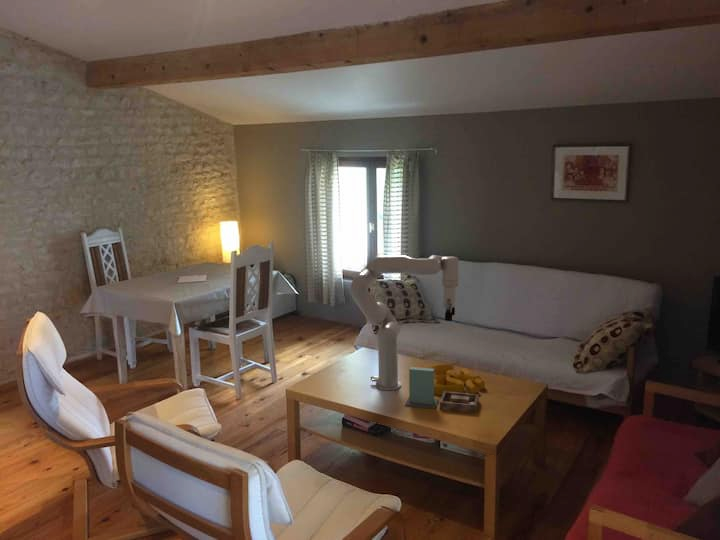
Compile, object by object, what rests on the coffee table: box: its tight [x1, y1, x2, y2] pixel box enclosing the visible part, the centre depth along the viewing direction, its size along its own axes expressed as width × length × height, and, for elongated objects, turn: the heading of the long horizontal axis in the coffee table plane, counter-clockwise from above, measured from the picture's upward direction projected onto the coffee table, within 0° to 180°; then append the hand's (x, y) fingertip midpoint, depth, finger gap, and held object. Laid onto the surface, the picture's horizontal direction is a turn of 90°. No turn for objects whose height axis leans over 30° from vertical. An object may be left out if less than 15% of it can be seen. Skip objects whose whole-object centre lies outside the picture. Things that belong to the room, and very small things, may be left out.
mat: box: [404, 397, 440, 410], centre depth 282 cm, size 14×10×1 cm
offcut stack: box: [449, 395, 474, 404], centre depth 276 cm, size 11×4×5 cm, turn 74°
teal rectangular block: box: [408, 366, 435, 404], centre depth 281 cm, size 11×3×16 cm, turn 74°
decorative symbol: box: [429, 364, 486, 396], centre depth 304 cm, size 30×5×30 cm
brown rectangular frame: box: [439, 391, 479, 414], centre depth 278 cm, size 16×13×4 cm
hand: (449, 317), depth 290 cm, fingers open, 9 cm apart
